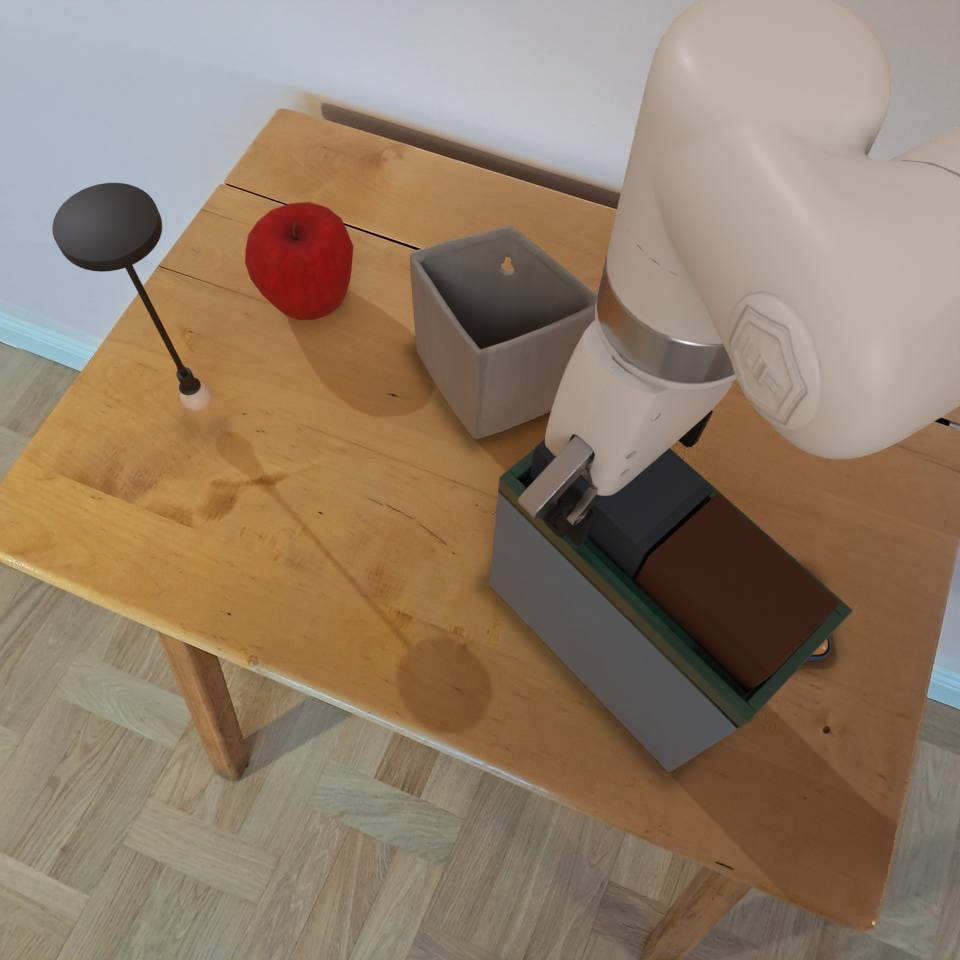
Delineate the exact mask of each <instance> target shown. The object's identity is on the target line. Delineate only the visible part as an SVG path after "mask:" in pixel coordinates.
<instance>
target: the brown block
mask: <svg viewBox="0 0 960 960" xmlns="http://www.w3.org/2000/svg"><path fill="white" fill-rule="evenodd" d="M635 584H636V585H637V586H638V587H639V588H640V589H641V590H642V591H643V592H644V593H645V594H646V595H647V596H648V597H649V598H650V599H651V600H652V601H653V602H654V603H656V604H657V605H658V606H659V607H660V608H661V609H662V610H663V611H664V612H665V613H666V614H667V615H668V616H669V617H670V618H671V619H672V620H673V621H674V622H675V623H676V624H677V625H678V626H679V627H680V628H681V629H682V630H683V631H684V632H685V633H686V634H687V635H688V636H689V637H690V638H691V639H692V640H693V641H694V642H695V643H696V644H697V645H698V646H699V647H700V648H701V649H703V650H704V651H705V652H706V653H707V654H708V655H709V656H710V657H711V658H712V659H713V660H714V661H715V662H716V663H717V664H718V665H719V666H720V667H721V668H722V669H723V670H724V671H725V672H726V673H727V674H728V675H729V676H730V677H731V678H732V679H733V680H734V681H735V682H736V683H737V684H738V685H739V686H740V687H741V688H742V689H743V690H744V691H745V692H747V693H748V692H749V691H751V690H752V689H753V688H755V687H756V686H757V685H759V684H760V683H761V682H763V681H764V680H766V679H767V678H768V677H770V676H771V675H772V674H773V673H774V672H775V671H776V670H777V669H778V668H779V667H780V666H781V665H782V664H783V663H784V662H785V661H786V660H787V659H788V658H789V657H790V656H791V655H792V654H793V653H794V652H795V650H796V649H797V648H798V647H799V646H800V645H801V644H802V643H803V642H804V641H805V640H806V639H807V638H808V637H809V636H810V635H811V634H812V633H813V632H814V631H815V630H816V629H817V628H818V627H819V626H820V624H821V623H822V622H823V621H824V620H825V619H826V618H827V617H828V616H829V615H830V614H831V613H832V612H833V611H834V610H835V609H836V608H837V607H838V606H839V605H840V602H839V601H838V600H837V599H836V598H835V597H834V596H833V595H831V594H830V593H829V592H828V591H827V590H826V589H825V588H824V587H822V586H821V585H820V584H819V583H818V582H817V581H816V580H815V579H814V578H812V577H811V576H810V575H809V574H808V573H807V572H806V571H805V570H804V569H802V568H801V567H800V566H799V565H798V564H797V563H796V562H795V561H793V560H792V559H791V558H790V557H789V556H788V555H787V554H786V553H785V552H783V551H782V550H781V549H780V548H779V547H778V546H777V545H776V544H775V543H773V542H772V541H771V540H770V539H769V538H768V537H767V536H766V535H765V534H763V533H762V532H761V531H760V530H759V529H758V528H757V527H756V526H754V525H753V524H752V523H751V522H750V521H749V520H748V519H747V518H746V517H744V516H743V515H742V514H741V513H740V512H739V511H738V510H737V509H736V508H734V507H733V506H732V505H731V504H730V503H729V502H728V501H727V500H725V499H724V498H723V497H722V496H721V495H720V494H719V493H717V494H716V495H715V496H714V497H712V498H711V499H710V500H709V501H708V502H707V503H706V504H705V505H704V506H703V507H701V508H700V509H699V510H698V511H697V512H696V513H695V514H694V515H693V516H692V517H690V518H689V519H688V520H687V521H686V522H685V523H684V524H683V525H682V526H681V527H679V528H678V529H677V530H676V531H675V532H674V533H673V534H672V535H671V536H670V537H668V538H667V539H666V540H665V541H664V542H663V543H662V544H661V545H660V546H659V547H657V548H656V549H655V550H654V551H653V552H652V553H651V554H650V555H649V556H648V558H647V560H646V562H645V563H644V565H643V567H642V569H641V571H640V573H639V574H638V576H637V578H636V580H635Z"/></svg>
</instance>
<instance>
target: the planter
mask: <svg viewBox="0 0 960 960" xmlns="http://www.w3.org/2000/svg"><path fill="white" fill-rule="evenodd" d="M506 258H509V259H511V262H510V265H511V266H512V268H513V270H506V269H505V268H503V267H502V265H503V264H504V263H505V261H506ZM409 270H410V271H409V272H410V284H411V298H412V311H413V325H414V326H413V327H414V334H415V335H414V337H415V338H414V339H415V349H416V353H417V356H418V357H419V359H420V361H421V362H422V364H423V366H424V367H425V369H426V371H427V372H428V374H429V376H430V377H431V379H432V380H433V383H434V385H435V386H436V387H437V389H438V391H439V392H440V394H441V396H442V397H443V399H445V402H446V403H447V404H448V406H449V407H450V409H451V411H452V412H453V413H454V415H455V416H456V418H457V419H458V420H459V422H460V423H461V424H462V426H463V427H464V428H465V430H466V431H467V432H468V434H469V435H470V436H471V437H472V439H473V440H480V439H483V438H486V437H489V436H493V435H495V434H498V433H499V434H500V433H501V432H505V431H507V430H509V429H512V428H515V427H517V426H520V425H522V424H524V423H528V422H529V421H532V420H534V419H537V418H539V417H541V416H544V415H546V414H548V413H551V410H552V407H553V403H554V400H555V397H556V394H557V391H558V388H559V385H560V382H561V379H562V377H563V374H564V372H565V369H566V367H567V365H568V363H569V361H570V358H571V356H572V354H573V352H574V350H575V348H576V346H577V344H578V342H579V341H580V339H581V337H582V335H583V333H584V332H585V330H586V329H587V328H588V327H589V325H590V324H591V323H592V322H593V321H594V320H595V305H596V300H597V296H598V294H597V293H595V292H594V291H593V290H592V289H591V288H589V286H587V284H585V283H584V282H583V281H581V279H580V278H578V277H577V276H576V275H574V273H573V272H571V271H570V270H568V269H567V267H565V266H564V265H562V264H561V263H560V262H559V261H557V260H556V259H555V258H553V257H552V256H551V255H550V254H549V253H547V252H546V251H545V250H543V249H542V248H541V247H540V246H539V245H537V244H536V243H535V242H534V241H532V240H531V239H530V238H529V237H527V236H526V235H525V234H524V233H522V232H521V231H520V230H518V229H517V228H515V227H514V226H512V225H504V226H500V227H496V228H491V229H488V230H484V231H480V232H477V233H473V234H469V235H468V234H467V235H464V236H460V237H457V238H454V239H450V240H445V241H443V242H440V243H436V244H433V245H431V246H430V245H429V246H427V247H423V248H420V249H416V250H414V251H412V252H411V253H410V255H409Z"/></svg>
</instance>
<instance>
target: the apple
mask: <svg viewBox="0 0 960 960" xmlns="http://www.w3.org/2000/svg"><path fill="white" fill-rule="evenodd" d="M348 231H349V230H347V227H346V225H345V222H344V221H343V218H342V217H340V216H339V215H338V214H337V213H335V212H334V211H333V210H332V209H330V208H329V207H327V206H324V205H320V204H317V203H314V202H311V201H303V202H291V203H290V202H289V203H286V204H284V205H281V206H278V207H275V208H273V209H270V210H269V211H267V213H265V214H264V215H263V216H261V218H260V219H258V220H257V221H256V223H255V224H254V225H253V227H252V229H250V231H249V233H248V234H247V238H246V239H247V240H246V245H245V253H244V255H245V257H244V264H245V267H246V270H247V272H248V276H249V279H250V280H251V282H252V283H253V285H254V286H255V288H256V289H257V290H258V292H259V293H260V295H261V296H263V297H264V298H265V299H266V300H267V301H268V302H269V303H270V304H271V305H272V306H274V307H275V308H276V309H277V310H279V311H280V312H281V313H282V314H283V315H284V316H287V317H289V318H292V319H295V320H297V321H314V320H317V319H320V318H324V317H327V316H329V315H331V314H332V313H333V312H334V311H336V310H338V309H339V308H340V307H341V305H342V303H343V301H344V299H345V298H346V296H347V293H348V289H349V285H350V282H351V277H352V276H351V275H352V268H353V257H354V244H353V242H352V239H351V237H350V234H349V232H348Z"/></svg>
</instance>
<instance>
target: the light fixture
mask: <svg viewBox="0 0 960 960" xmlns="http://www.w3.org/2000/svg"><path fill="white" fill-rule="evenodd" d="M51 231H52V236H53V239H54V241H55V243H56V245H57V247H58V249H59V250H60V252H61V253H62V255H63V256H64V257H65V259H66V260H67V261H69V262H70V263H71V264H72V265H75V266H76V267H79V268H81V269H83V270H87V271H91V272H100V273H103V272H114V271H119V270H123V269H125V271H126V273H127V274H128V276H129V278H130V280H131V282H132V284H133V287H134V288H135V289H136V290H135V291H137V293H138V295H139V297H140V299H141V301H142V303H143V305H144V306H145V309H146V311H147V312H148V314H149V317H150V318H151V320H152V322H153V324H154V326H155V328H156V330H157V333H158V334H159V335H160V337H161V340H162V341H163V343H164V345H165V347H166V349H167V351H168V353H169V355H170V357H171V358H172V360H173V362H174V364H175V366H176V373H175V376H176V378H177V380H178V381H179V384H178V391H179V395H178V396H179V397H178V398H179V400H180V403H181V406H182V407H184V408H185V409H186V410H187V411H189V412H192V413H199V412H203V411H205V410H206V409H208V408H209V406H210V405H211V403H212V401H213V400H212V399H213V394H212V390H211V389H210V387H209V386H208V385H207V384H206V383H203V382H202V381H201V380H200V379H198V378H197V377H195V376H194V374H193V371H192V369H191V368H189V367H187V366H185V365H184V364H183V362H182V360H181V358H180V356H179V354H178V352H177V350H176V348H175V346H174V344H173V342H172V340H171V338H170V336H169V333H168V332H167V330H166V328H165V326H164V325H163V323H162V321H161V318H160V316H159V315H158V313H157V311H156V309H155V306H154V304H153V303H152V301H151V299H150V296H149V294H148V293H147V291H146V289H145V287H144V285H143V283H142V281H141V279H140V277H139V276H138V275H139V274H138V273H137V271H136V269H135V267H134V266H133V265H135V264H137V263H139V262H140V261H142V260H143V259H145V258H146V257H147V256H148V255H150V254H151V252H152V251H154V249H155V247H156V246H157V245H158V243H159V242H160V240H161V237H162V233H163V219H162V216H161V214H160V211H159V209H158V206H157V204H156V202H155V201H154V199H153V198H152V197H151V195H150V194H149V193H148V192H146V191H144V189H142V188H140V187H138V186H136V185H132V184H129V183H123V182H104V183H98V184H94V185H91V186H88V187H86V188H83V189H81V190H79V191H77V192H76V193H74V194H72V195H71V196H69V197H68V198H67V200H65V201H64V202H63V203H62V204H61V205H60V207H59V208H58V210H57V211H56V213H55V215H54V217H53V221H52V230H51Z"/></svg>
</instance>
